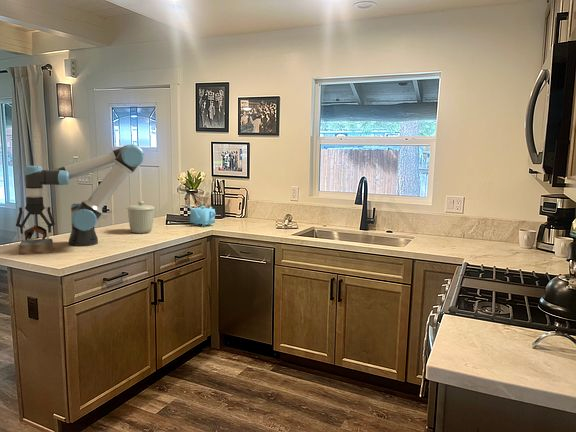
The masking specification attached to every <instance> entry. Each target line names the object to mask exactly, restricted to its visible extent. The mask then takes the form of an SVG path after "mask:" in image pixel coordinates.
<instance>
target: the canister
mask: <svg viewBox="0 0 576 432" xmlns="http://www.w3.org/2000/svg"><path fill="white" fill-rule="evenodd" d="M144 203H145V201H143V200H139V201H138V203H137V204H131V205H128V206H127V207H126V209H127V214H128V224H129V229H130V231H131V232H132V233H134V234H147V233H150V232H152V229H153V225H154V218H155V217H154V216H155V215H154V214H155V209H156V207H155V206H153V205H150V204H144Z"/></svg>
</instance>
